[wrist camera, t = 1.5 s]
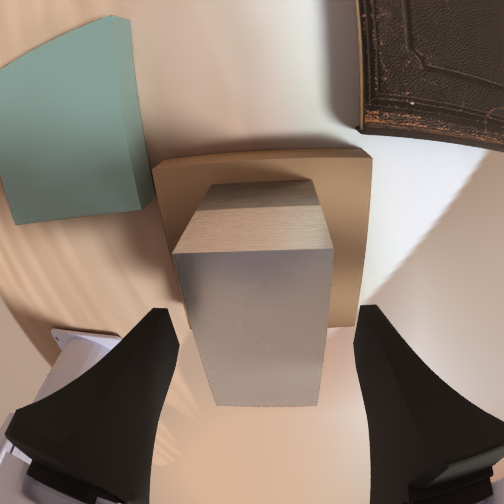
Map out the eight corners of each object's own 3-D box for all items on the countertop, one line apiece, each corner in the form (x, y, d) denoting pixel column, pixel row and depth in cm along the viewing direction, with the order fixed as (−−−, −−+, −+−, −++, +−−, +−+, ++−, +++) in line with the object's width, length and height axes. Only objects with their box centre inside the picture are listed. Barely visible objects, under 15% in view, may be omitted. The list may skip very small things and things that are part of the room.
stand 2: (349, 304, 19) (354, 326, 18) (196, 308, 20) (190, 328, 19) (361, 148, 14) (372, 158, 13) (165, 159, 15) (151, 169, 14)
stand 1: (155, 195, 16) (141, 210, 15) (32, 212, 18) (15, 225, 16) (130, 20, 11) (111, 14, 10) (4, 77, 12) (-17, 81, 11)
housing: (309, 316, 17) (316, 405, 12) (231, 317, 18) (216, 405, 13) (312, 179, 13) (333, 248, 8) (211, 184, 14) (172, 253, 9)
